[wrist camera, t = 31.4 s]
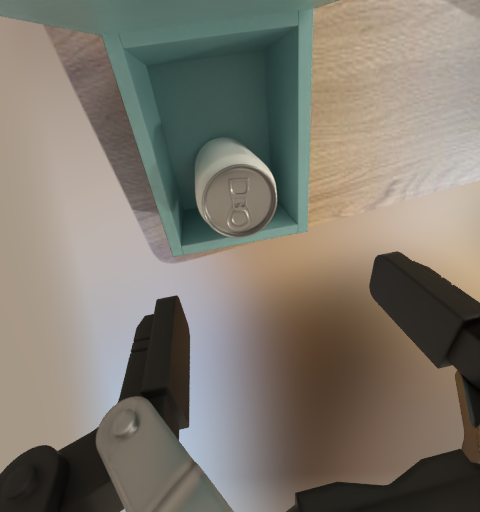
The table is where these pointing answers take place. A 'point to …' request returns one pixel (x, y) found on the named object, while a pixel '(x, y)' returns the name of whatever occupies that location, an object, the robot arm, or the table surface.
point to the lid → (142, 12)
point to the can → (233, 188)
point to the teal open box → (219, 112)
